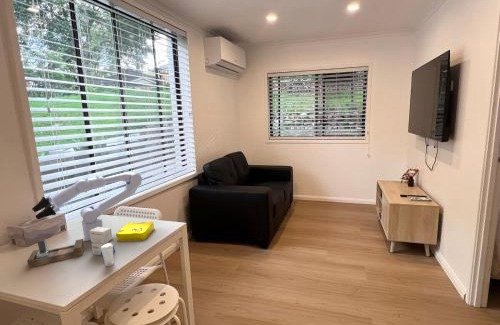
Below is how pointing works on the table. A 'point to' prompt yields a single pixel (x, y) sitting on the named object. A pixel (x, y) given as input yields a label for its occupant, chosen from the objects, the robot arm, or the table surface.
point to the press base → (57, 254)
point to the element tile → (135, 231)
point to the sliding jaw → (43, 249)
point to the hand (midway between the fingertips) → (34, 214)
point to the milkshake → (107, 254)
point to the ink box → (100, 239)
